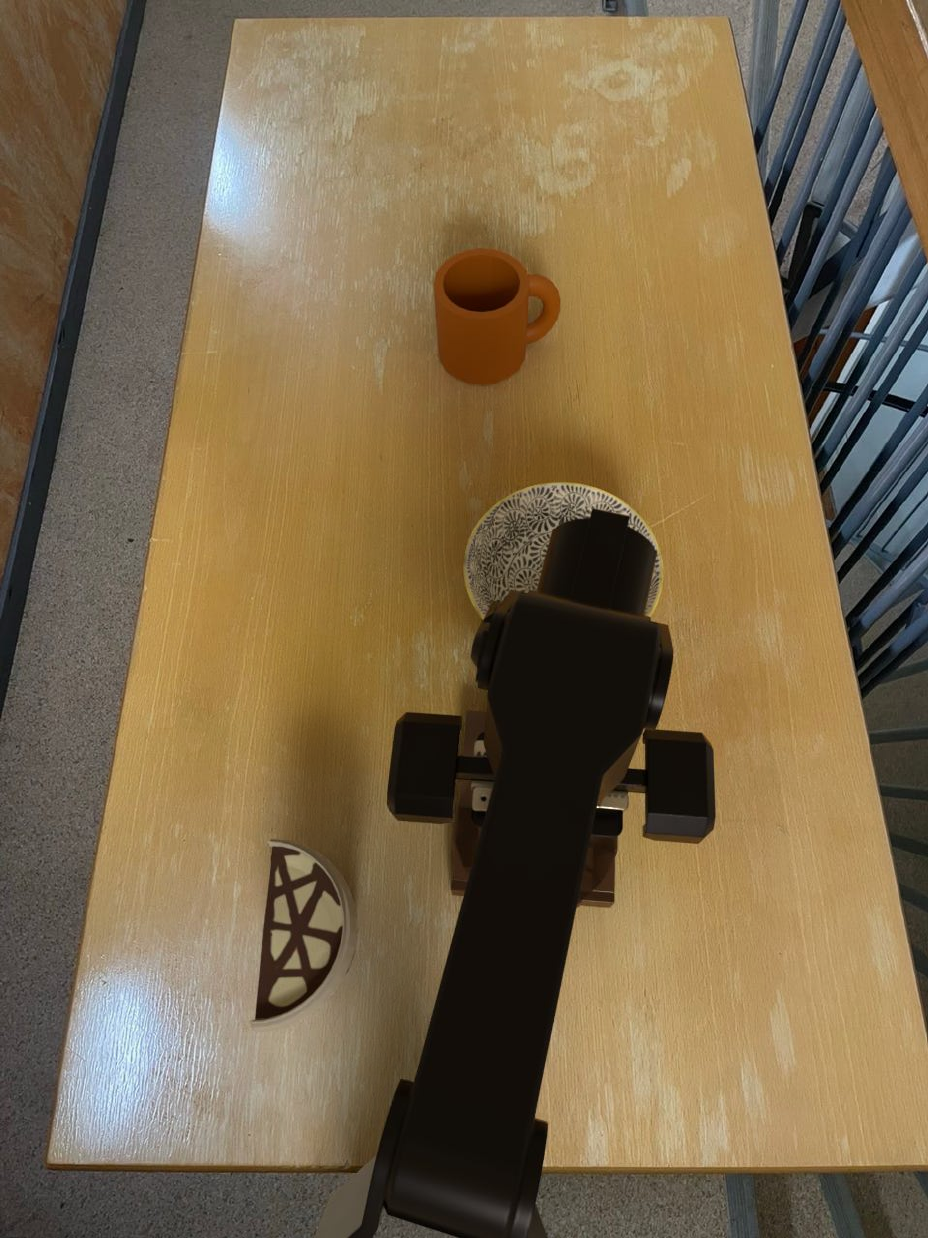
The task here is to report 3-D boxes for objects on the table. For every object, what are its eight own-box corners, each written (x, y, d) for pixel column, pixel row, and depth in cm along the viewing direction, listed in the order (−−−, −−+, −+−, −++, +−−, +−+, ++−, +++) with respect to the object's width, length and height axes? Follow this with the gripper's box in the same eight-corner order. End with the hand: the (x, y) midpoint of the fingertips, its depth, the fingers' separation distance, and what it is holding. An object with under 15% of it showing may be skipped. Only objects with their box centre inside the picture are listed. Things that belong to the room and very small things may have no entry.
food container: (366, 1035, 66) (346, 1034, 57) (281, 1034, 66) (247, 1032, 57) (375, 860, 71) (358, 834, 62) (296, 860, 71) (268, 833, 62)
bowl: (428, 622, 80) (423, 583, 73) (535, 496, 85) (539, 448, 78) (581, 728, 75) (590, 696, 68) (684, 589, 80) (702, 546, 73)
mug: (560, 384, 90) (567, 318, 82) (438, 387, 90) (433, 321, 82) (555, 314, 94) (562, 244, 86) (438, 317, 94) (433, 247, 86)
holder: (612, 924, 69) (616, 920, 66) (448, 911, 69) (447, 906, 67) (615, 730, 75) (619, 721, 73) (464, 720, 76) (464, 710, 74)
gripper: (734, 610, 50) (680, 706, 64) (396, 588, 51) (416, 688, 66) (744, 811, 46) (683, 867, 60) (372, 783, 47) (399, 845, 61)
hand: (542, 809), depth 62 cm, fingers closed
